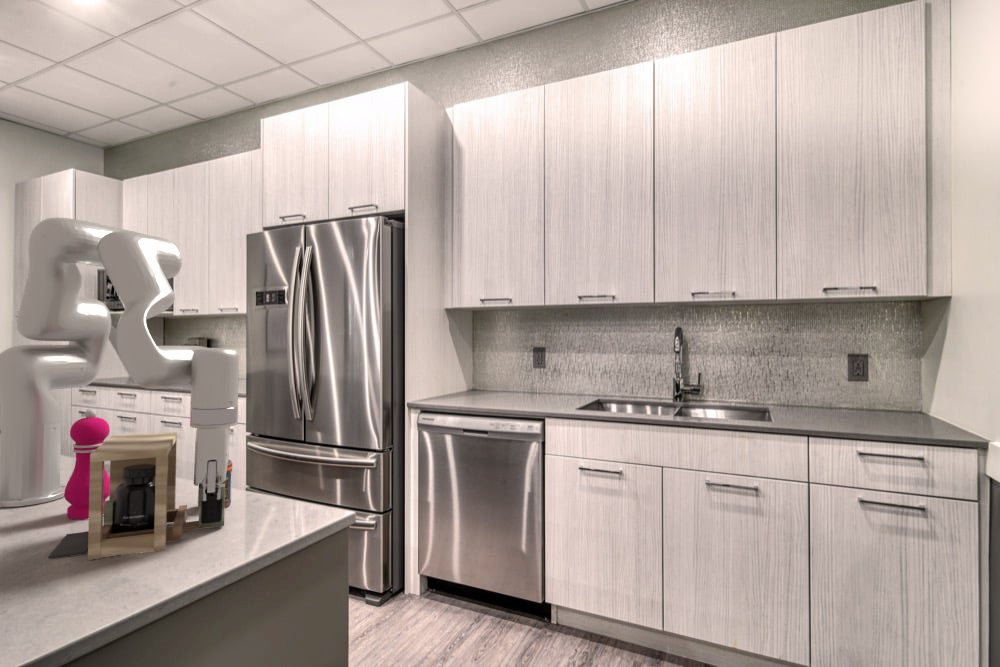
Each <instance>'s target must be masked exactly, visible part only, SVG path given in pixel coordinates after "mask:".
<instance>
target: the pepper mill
mask: <svg viewBox="0 0 1000 667" xmlns="http://www.w3.org/2000/svg"><path fill="white" fill-rule="evenodd" d="M84 416H85V417H84V418H80V419H78V420H76V421H75V422H73V424H72V425H71V428H70V431H69V435H70V436H69V437H70V438H71V439H72V441H73V442H74V444H73V445H72V447H73V450H72V452H73V453H75V464H74V468H73V471H72V472H71V476H70V477H69V479H68V481H67V482H66V485H65V486H66V488H65V493H64V497H63V498H64V499H65V501H66V502H68V504H70V505H69V506H68V507H67V508H66V510H67V511H66V517H67V519H68V520H73V519H81V520H89V519H88V518H89V489H90V454H91V453H92V452H93V451H95V450H96V449H97V448H98V447H99V446H101V445H102V444H103V443H104V442H105V441H106V439H107V437H108V436H109V435H110V433H111V432H110V429H111V428H110V425H109V422H108V421H107V420H105V419H104V418H101V417H98V416H97V411H96V410H95V409H93V408H89V409H87V410H86V411H85V412H84ZM109 495H110V474H108V472H107V469H106V466H104V495H103V514H104V503H105V502H106V501H107V499H108V497H109Z"/></svg>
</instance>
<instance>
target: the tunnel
mask: <svg viewBox="0 0 1000 667" xmlns="http://www.w3.org/2000/svg"><path fill="white" fill-rule="evenodd" d="M104 441H105V442H104V443H103V444H102V445H101V446H99V447H98V448H97V449H96V450H95V451H93V452H92V453H91V454H90V489H89V519H88V529H87V530H88V531H87V532H88V551H87V561H93V559H96V560H100V559H102V558H101V557H106V558H109V557H108V556H114V557H117V556H116V555H121V556H126V555H125V554H129V555H133V554H132V553H136V554H143V552H144V553H150V551H151V552H154V553H155V552H161V551H162V552H163V551H165V550H166V548H167V542H166V528H167V524H168V523H167V510H170V509H176V503H177V500H176V499H177V462H178V460H177V459H178V458H177V457H178V456H177V455H178V432H177V431H175V432H155V433H140V434H139V433H138V434H137V433H136V434H117V435H112V436H110V437H109V438H108V439H105V440H104ZM107 461H108V462H110V463H109V477H110V495H109V496H108V497H109V499H108V500H114V498H115V490H116V488H117V487H118V486H119V485H120V484H122V483H123V482H124V480H122V476H123V468H125V467H127V466H131V465H138V464H154V465H156V477H155V521H154V533H153V534H145V535H137V536H129V537H121V538H112V539H104V540H102V537H103V523H104V515H103V495H104V467H105V462H107ZM141 552H142V553H141ZM99 558H100V559H99Z"/></svg>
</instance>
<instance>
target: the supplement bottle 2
mask: <svg viewBox="0 0 1000 667" xmlns="http://www.w3.org/2000/svg"><path fill="white" fill-rule="evenodd" d="M222 484H225V508H227V507H229V506H230V505H231V503H232V491H233V490H232V489H233V488H232V486H233V485H232V484H233V462H232V460H230V458H228V466H227V473H226V478H225V481H224V482H223V483H222ZM200 486H203V481H202V483H201V484H198V491H197V492H198V494H197V495H198V497H197V508H199V489H200Z"/></svg>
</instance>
